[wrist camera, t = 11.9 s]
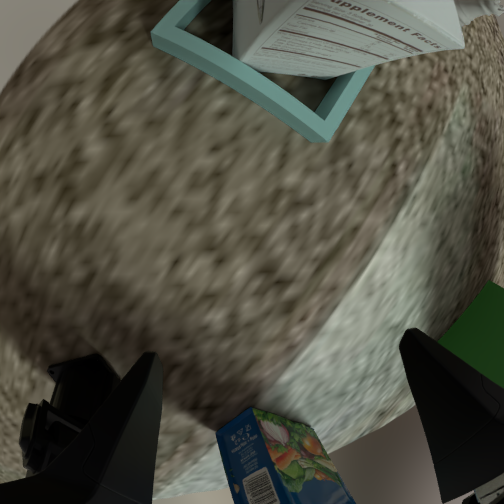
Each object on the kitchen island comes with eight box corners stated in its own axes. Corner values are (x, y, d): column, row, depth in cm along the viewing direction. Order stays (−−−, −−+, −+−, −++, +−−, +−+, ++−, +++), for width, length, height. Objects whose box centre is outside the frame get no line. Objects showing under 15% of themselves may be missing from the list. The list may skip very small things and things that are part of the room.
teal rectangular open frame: (311, 142, 19) (328, 142, 16) (153, 46, 14) (150, 32, 11) (378, 34, 16) (397, 27, 14) (256, -52, 11) (265, -68, 9)
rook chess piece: (464, 32, 18) (511, 27, 10) (444, 16, 17) (494, 6, 9) (458, 8, 16) (502, 0, 9) (438, -9, 15) (484, -21, 8)
